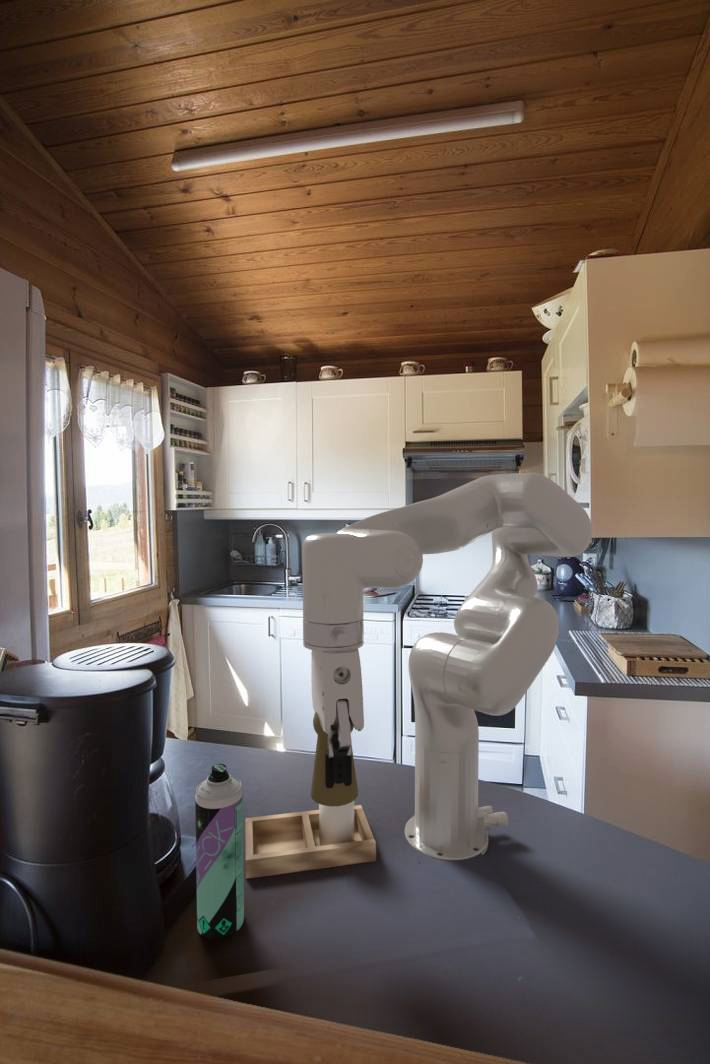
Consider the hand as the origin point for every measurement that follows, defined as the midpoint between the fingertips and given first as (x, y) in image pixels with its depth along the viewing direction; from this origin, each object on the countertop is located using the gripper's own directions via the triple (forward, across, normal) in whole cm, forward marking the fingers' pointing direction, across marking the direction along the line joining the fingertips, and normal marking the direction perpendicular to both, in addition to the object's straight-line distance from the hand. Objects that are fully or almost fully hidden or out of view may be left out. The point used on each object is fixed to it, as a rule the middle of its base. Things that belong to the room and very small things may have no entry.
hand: (334, 774), depth 68 cm
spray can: (+17, 0, +14) cm, 22 cm away
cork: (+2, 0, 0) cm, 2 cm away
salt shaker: (+16, +11, -2) cm, 20 cm away
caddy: (+17, +11, +2) cm, 21 cm away
